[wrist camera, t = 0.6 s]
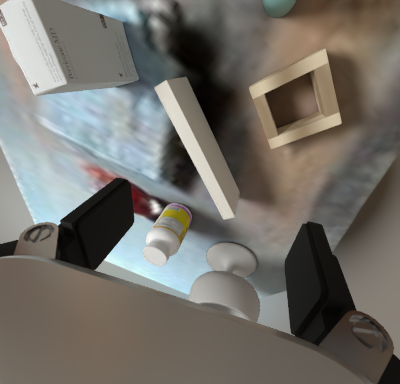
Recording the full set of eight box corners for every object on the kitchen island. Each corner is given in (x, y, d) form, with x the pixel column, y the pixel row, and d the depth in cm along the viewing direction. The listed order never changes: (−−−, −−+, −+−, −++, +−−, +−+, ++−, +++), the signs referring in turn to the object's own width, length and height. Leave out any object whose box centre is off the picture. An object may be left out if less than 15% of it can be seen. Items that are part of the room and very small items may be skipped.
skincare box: (140, 80, 35) (72, 88, 22) (111, 88, 37) (34, 100, 24) (121, 17, 31) (25, -15, 18) (89, 29, 33) (-16, 8, 20)
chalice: (239, 229, 45) (229, 292, 33) (272, 271, 49) (274, 341, 37) (192, 248, 52) (169, 305, 40) (224, 283, 56) (212, 346, 44)
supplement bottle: (180, 229, 50) (157, 274, 39) (160, 211, 49) (130, 252, 38) (198, 216, 46) (179, 262, 36) (177, 196, 45) (150, 237, 34)
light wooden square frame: (318, 50, 27) (325, 48, 23) (333, 117, 30) (341, 123, 27) (250, 85, 31) (248, 88, 27) (270, 141, 34) (271, 149, 31)
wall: (186, 76, 32) (166, 79, 26) (239, 192, 40) (234, 217, 34) (176, 83, 33) (154, 87, 27) (230, 195, 41) (223, 219, 35)
